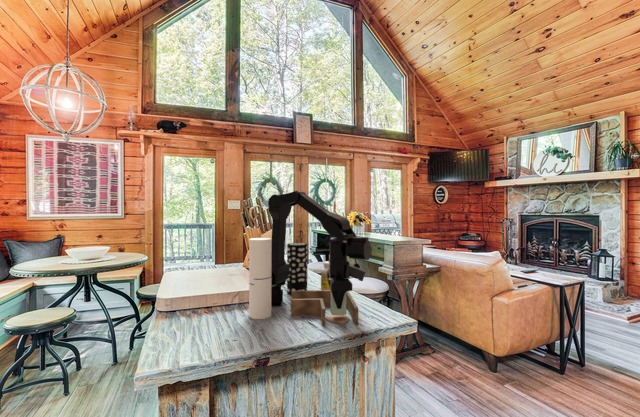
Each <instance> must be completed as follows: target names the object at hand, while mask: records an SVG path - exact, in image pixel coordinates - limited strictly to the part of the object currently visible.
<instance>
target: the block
mask: <svg viewBox="0 0 640 417" xmlns="http://www.w3.org/2000/svg"><path fill="white" fill-rule="evenodd" d="M330 313H331V314H330V315H345V316H347V307H346V293H345V295H344V298H343V302H342V306H341V309H337V306H336V303H335V300H334V298H333V295H332V292H331V305H330Z"/></svg>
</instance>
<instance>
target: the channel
mask: <svg viewBox="0 0 640 417" xmlns="http://www.w3.org/2000/svg"><path fill="white" fill-rule="evenodd" d="M325 305H327V306H331V290H321V289H318V290H316V289H315V290H311V289H310V290H308V289H307V291H292V295H291V299H290V316H309V315H310V316H314V315H315V316H317V315H319V317H320V322H321V326H326V319H327V321H328V322H329V323H333V324H346V323H348V322H349V321H350V317H351V319H352V321H353V324H354V325H355V326H358V325H359V307H358V305H357V304H356V301H355V300H354V298H353V296H352V294H351V293H350V291H347V292H346V310H347V311H348V313H349V315H350V317H349V316H348V315H332V314H330V315H328V316H327V317H326V306H325Z"/></svg>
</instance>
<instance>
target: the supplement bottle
mask: <svg viewBox="0 0 640 417" xmlns="http://www.w3.org/2000/svg"><path fill="white" fill-rule="evenodd" d="M328 270H329V260H326V261H323V267H322V268H321V271H320V290H330V286H329V284H328V280H330V277H329V279H327V271H328Z"/></svg>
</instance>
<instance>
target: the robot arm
mask: <svg viewBox="0 0 640 417" xmlns="http://www.w3.org/2000/svg"><path fill="white" fill-rule="evenodd" d="M267 205H268V213H269V214H270V217H271V218H272V222H271V223H272V225H271V239H272V246H271V307H272V306H273V307H274V306H275V307H278V306H280V307H281V306H282V303H283V302H284V290H283V289H282V286H285V284H286V283H287V279H288V275H290V272H289V269H290V264H287V261H286V259H285V255H286V253H285V252H286V232H287V219H288V218H289V216H290V214H291V211H292V207H294V206H299V207H300V208H302V209H303V210H304V211H306V212H307V213H308V214H310V215H311V216H312V217H313V218H315V219H316V220H318V222H320V225H321V226H322V228H323V230H325V231H326V233H327V234H328V235H327V236H326V238H324V239H323V242H324V243H328V244H329V249H328V250H329V257H328V261H329V270H328V271H327V279H329V277H330V280H328V284H329V286H330V290H331V292H332V295H333V298H334V300H335V303H336V306H337V309H341V306H342V302H343V298H344V295H345V293H346V292H347V291H349V292H352V291H353V283H352V281H351V280H350V278H354V279H356V280H358V281H360V282H363V281H364V278H365V275H366V272H367V271H366V270H365V269H363V268H361V264H360V263H358V262H353V264H350V261H348V258H349V259H353V260H362V261H369V260H370V258H371V257H372V250H373V249H372V248H373V247H372V245H371V242H370V241H369V240H370V239H369V236H368V237H367V236H363V237H360V236H357V234H356V233H355V231H354V230H353V229H352V227H351V224H350V220H349V219H348V218H346V217H344V216H342V215H340V214H338V213H335V212H331V211H330V210H328V208H326V207H324V206H323V205H322V204H320V203H318V202H317V201H316V200H314V199H313V198H312V197H311V196H309V195H308V194H307V193H306V192H305V191H303V190H294V191H291V192H288V193H283V194H272V195H271V196H270V197H269V198H268V200H267Z"/></svg>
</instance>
